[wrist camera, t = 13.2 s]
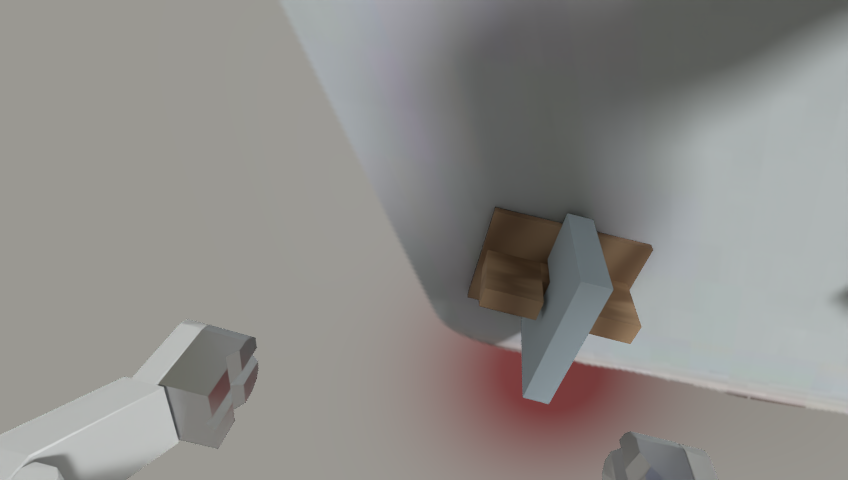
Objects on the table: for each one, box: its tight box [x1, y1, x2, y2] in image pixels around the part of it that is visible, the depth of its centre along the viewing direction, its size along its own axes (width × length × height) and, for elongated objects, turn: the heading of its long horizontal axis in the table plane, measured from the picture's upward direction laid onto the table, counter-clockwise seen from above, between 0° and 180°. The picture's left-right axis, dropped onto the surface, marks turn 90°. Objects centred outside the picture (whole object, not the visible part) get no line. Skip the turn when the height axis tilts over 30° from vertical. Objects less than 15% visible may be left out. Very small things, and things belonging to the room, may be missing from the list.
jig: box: [468, 207, 653, 344], centre depth 43 cm, size 15×11×7 cm
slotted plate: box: [521, 213, 613, 404], centre depth 41 cm, size 14×2×10 cm, turn 169°
